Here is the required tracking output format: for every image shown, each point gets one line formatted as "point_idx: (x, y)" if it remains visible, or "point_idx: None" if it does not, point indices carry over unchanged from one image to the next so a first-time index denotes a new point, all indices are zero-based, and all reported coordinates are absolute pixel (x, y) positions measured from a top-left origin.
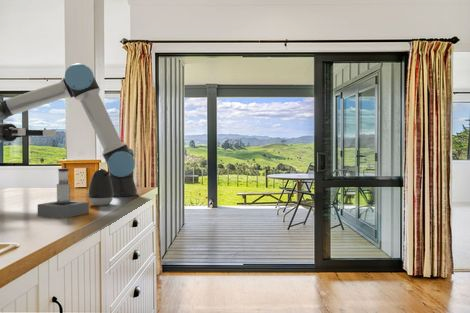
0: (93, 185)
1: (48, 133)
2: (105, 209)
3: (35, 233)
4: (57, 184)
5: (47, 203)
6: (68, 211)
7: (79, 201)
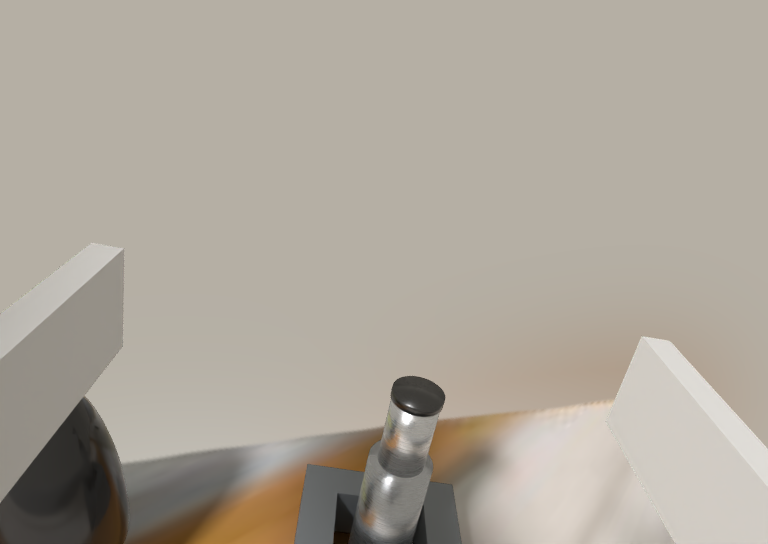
0: (114, 482)
1: (55, 385)
2: (200, 485)
3: (604, 466)
4: (428, 473)
5: None
6: None
7: (306, 504)
